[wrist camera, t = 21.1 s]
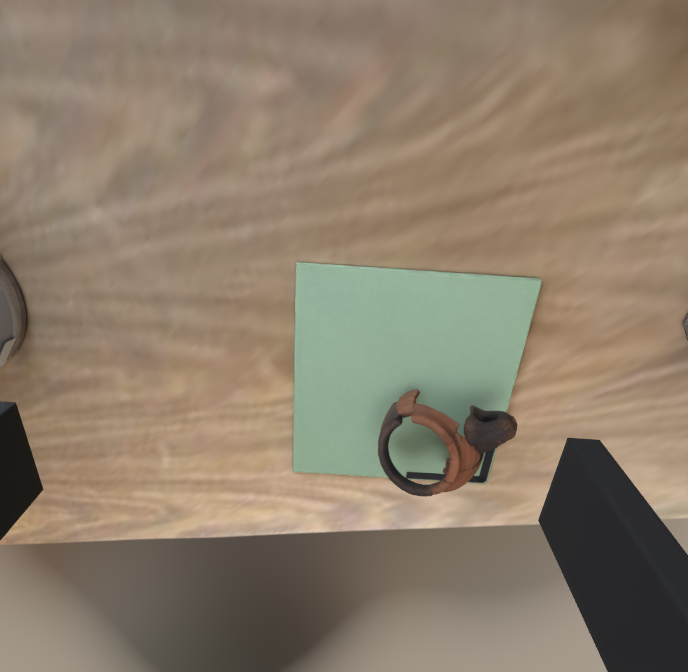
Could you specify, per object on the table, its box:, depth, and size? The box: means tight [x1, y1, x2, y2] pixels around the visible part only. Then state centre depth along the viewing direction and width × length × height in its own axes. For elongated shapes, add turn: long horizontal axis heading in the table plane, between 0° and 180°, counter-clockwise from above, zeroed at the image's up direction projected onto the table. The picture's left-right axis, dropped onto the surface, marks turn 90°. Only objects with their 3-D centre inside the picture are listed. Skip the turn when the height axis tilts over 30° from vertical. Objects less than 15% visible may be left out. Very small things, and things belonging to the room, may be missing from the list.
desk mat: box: [293, 262, 542, 484], centre depth 41 cm, size 20×22×1 cm
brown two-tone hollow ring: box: [378, 389, 517, 496], centre depth 40 cm, size 12×10×8 cm
